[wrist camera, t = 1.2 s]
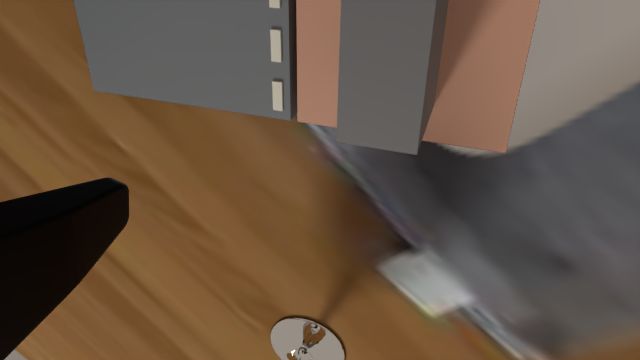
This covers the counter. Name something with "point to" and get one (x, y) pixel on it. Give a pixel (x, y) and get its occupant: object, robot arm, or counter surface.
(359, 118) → the stub
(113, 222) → the robot arm
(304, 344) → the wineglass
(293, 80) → the panel
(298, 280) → the counter surface
